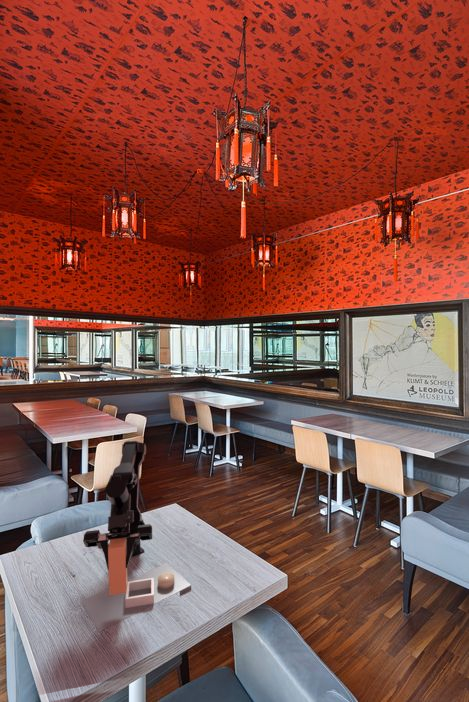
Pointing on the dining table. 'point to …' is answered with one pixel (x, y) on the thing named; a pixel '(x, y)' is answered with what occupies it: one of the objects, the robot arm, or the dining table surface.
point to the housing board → (116, 603)
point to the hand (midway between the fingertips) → (117, 568)
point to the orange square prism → (117, 566)
